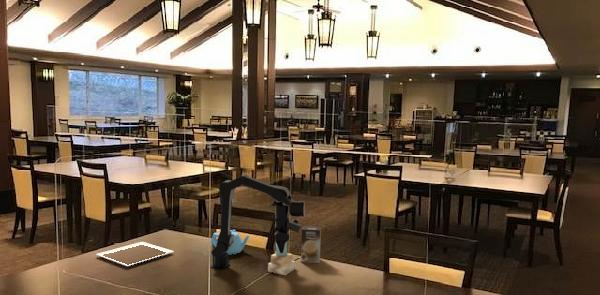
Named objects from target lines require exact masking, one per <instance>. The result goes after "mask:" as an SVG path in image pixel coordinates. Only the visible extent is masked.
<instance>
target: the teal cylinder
mask: <svg viewBox="0 0 600 295" xmlns="http://www.w3.org/2000/svg"><path fill="white" fill-rule="evenodd" d="M275 253H276V256H279V257H284V256H287V253H288V241H287V242H286V243H285V246H284V251H283V253H280V251H279V248H278V246H277V243H276V242H275Z"/></svg>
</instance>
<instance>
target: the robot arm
mask: <svg viewBox="0 0 600 295" xmlns="http://www.w3.org/2000/svg"><path fill="white" fill-rule="evenodd" d="M241 186H246V187H249V188H251V189H254V190H256V191H259V192H262V193H264V194H267V195H268V196H270V197H271V198H272V199H273V202H272V203H271V204H270V206H272V207H275V217H274V218H275V222H274V223H275V224H274V241H275V244H276V243H277V246H278V248H279V251H280V253H283V251H284V246H285V243H286V242H287V243H288V241H289V240H290V232H289V231H293V232H295V233H297V234H298V233H300V230H301V229H302V224H301V223H300V222H299V220H298V219H297V218H294V219H293V220H290V217H289V214H290V216H291V217H300V218H305V216H306V205H305V204H306V203H305V200H299V201H297V200H294V199H293V197H292V195H291V194H290V190H289V188H287V187H285V186H281V185H274V184H270V183H267V182H265V181H261V180H260V179H256V178H254V177H251V176H249V175H247V174H243V175H240V176H239V177H237V178H234V179H233V180H231V179H227V180H225V181H223V182H222V183H220V184H219V187H218V190H219V191H218V192H219V197H220V200H221V210H220V212H221V213H220V229H219V230H220V232H219V233H218V234H219V237H217V239H216V241H217V244H216V247H215V246H214V248H213V249H212V250H211V255H212V265H210V267H211V268H214V269H220V270H224V269H225V268H227V267H229V266H231V264H230V262H229V259H230V258H229V255H228V253H227V251H228V249H229V248H230V247H231V246H232V244H233V243H234V234H231V231H230V230H231V220H232V219H231V218H232V202H233V201H232V200H233V198H234V195H235V191H236V189H237V188H239V187H241Z"/></svg>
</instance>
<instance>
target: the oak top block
mask: <svg viewBox="0 0 600 295" xmlns="http://www.w3.org/2000/svg"><path fill="white" fill-rule="evenodd" d="M292 261H293V254H292V253H290V252H287V256H284V257H279V256H276V252H275V253H273V254H270V262H271V263H273V264H277V265H282V266H285V265H287V264H289V263H290V262H292Z"/></svg>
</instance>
